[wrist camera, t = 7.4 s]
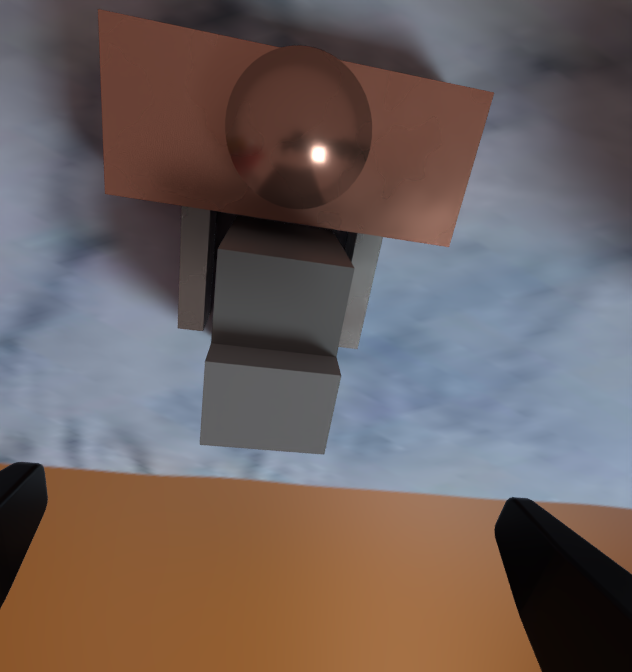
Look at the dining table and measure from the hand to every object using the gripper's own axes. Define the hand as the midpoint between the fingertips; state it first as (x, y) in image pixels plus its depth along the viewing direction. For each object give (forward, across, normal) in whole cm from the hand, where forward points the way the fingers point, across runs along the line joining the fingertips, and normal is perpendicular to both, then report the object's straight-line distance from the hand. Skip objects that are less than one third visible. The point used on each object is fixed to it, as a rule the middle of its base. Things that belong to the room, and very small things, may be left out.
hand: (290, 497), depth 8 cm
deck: (+12, +1, -4) cm, 12 cm away
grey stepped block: (+12, 0, 0) cm, 12 cm away
